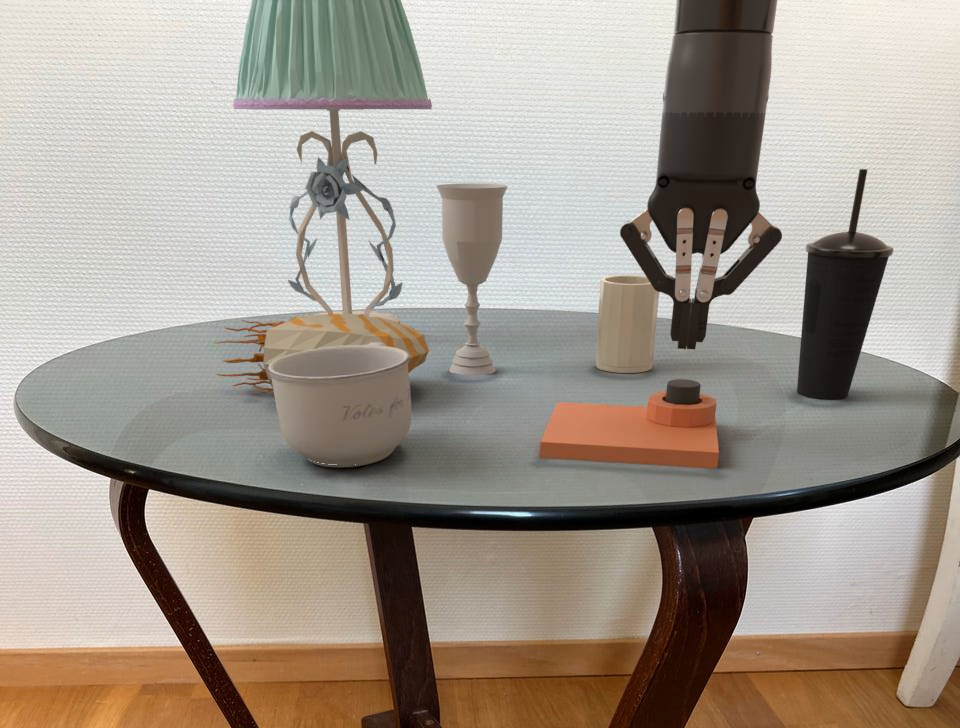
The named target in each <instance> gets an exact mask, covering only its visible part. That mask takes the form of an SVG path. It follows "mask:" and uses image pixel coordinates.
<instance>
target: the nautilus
mask: <svg viewBox="0 0 960 728" xmlns="http://www.w3.org/2000/svg"><path fill="white" fill-rule="evenodd" d="M317 314H318V315H312V314H306V315H298V316H294V317H292V318H291V319H289V320H288V321H282V320H280V321H279V322H266V323H263V322H259V321H247V320H243V319H241V321H242V322H245V323H248V324H254V325H252V326H250V327H242V328H231V327H226V326H224V327H223V329H226V330H229V331H233V332H235V331H236V332H241V331H248V332H253V333H252V334H247V335H244V336H243V337H244V338H247V337H248V338H249V337H256V338H255V339H248V340H221V341H215V342H214V343H213V344H214V345H217V344H232V343H233V344H255V345H259V346H260V348H259V349H258V352H261V350H262V348H263V353H257V352H255V353H253V357H251V358H241V357H240V358H239V357H238V358H233V359H224V360H222V361H221V362H222V363H226V364H238V363H239V364H240V363H245V362H248V363H257V365H258V366H259V368H260V371H258V372H245V373H244V372H243V373H233V374H221V373H215V374H216V376H220V377H229V378H230V377H231V378H232V377H246V376H250V377H246V379H247V380H249V381H250V380H251V381H256V382H245V381H244V382H239V383H236V384H232V385H231V387H236V386H237V387H238V386H242V385H248V386H253V387H254V388H257V389H260V390H263V391H257V392H254V393H252V394H251V396H255V395H257V394H266V393H270V392H274V390H273V384H272V377H271V375H270V373H269V370H268V367H269V365H270V363H272V362H273V361H274V360H276V359H278V358H280V357H283V356H286V355H289V354H293V353H297V352H301V351H305V350H311V349H318V348H324V347H332V346H341V345H343V346H347V345H368V344H369V343H374V342H380V343H384V344H385V345H387V346H388V347H394V348H398V349H401V350H404V351H405V352H407V353H408V355H409V362H408V372H409V374H410V373H411V372H412V371H413V370H415V368H417V367H420V366H421V365H422V364H424V363H425V362H426V360H427V356H428V353H429V352H430V349H429V345H428V344H427V341H426V337H425V334H424V333H423V332H421V331H419V330H417V329H415V328H413V327H411V326H410V325H407V324H404V323H401V322H400V323H398V322H394V321H391V320H388V319H384V318H381V317H368V316H365V315H363V314H359V315H357V314H319V313H317ZM267 326H270V328H267V329H262V330H259V329H254V328H258V327H267ZM261 363H263V367H262V365H261ZM252 377H258V378H252ZM260 384H268V385H271V387H263V386H258V385H260ZM263 388H264V389H263Z"/></svg>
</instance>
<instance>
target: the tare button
mask: <svg viewBox="0 0 960 728" xmlns="http://www.w3.org/2000/svg"><path fill="white" fill-rule="evenodd" d="M701 386H702V385H701V382H700V381H696V380H693V379H687V378H685V379H684V378H679V379H678V378H675V379H671V380H668V381H667V383H666V389H665V390H666V400H665V402H667V403H672V404H678V405H694V404H699V396H700V393H701Z"/></svg>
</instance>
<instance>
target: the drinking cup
mask: <svg viewBox="0 0 960 728" xmlns="http://www.w3.org/2000/svg"><path fill="white" fill-rule="evenodd" d="M867 174H868V169H866V168H860V169H859V170H858V175H857V181H856V187H855V191H854V196H853V197H854V198H853V203H852V209H851V214H850V220H849V225H848V230H847V231H842V232H841V231H840V232H835V233H830V234H828V235H825V236H823V237H821V238H819V239H816V240H815V241H814V242H809V243H807V244H806V245H805V252H806V253H807V261H806V274H805V284H804V285H805V286H804V297H803V298H804V299H803V309H802V321H801V334H800V335H801V336H800V346H799V347H800V349H799V359H798V360H799V361H798V370H797V371H798V372H797V384H796V393H797V394H798V395H799V396H801V397H805V398H808V399H813V400H822V401H838V400H844V399H846V398H848V396H849V393H850V389H851V386H852V382H853V379H854V376H855V373H856V370H857V366H858V363H859V359H860V355H861V352H862V348H863V346H864V342H865V339H866V335H867V332H868V329H869V325H870V323H871V319H872V315H873V312H874V309H875V305H876V303H877V298H878V295H879V292H880V288H881V284H882V282H883V277H884V274H885V271H886V268H887V265H888V261H889V257H891V256H892V255H893V254H894V247H892V246H890V245H887V244H886V243H885V242H884V241H883V240H881V239H880V238H878V237H875V236H873V235H871V234H867V233H864V232H858V231H857V230H858V224H859V218H860V213H861V208H862V201H863V196H864V191H865V186H866V180H867Z"/></svg>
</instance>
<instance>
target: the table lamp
mask: <svg viewBox="0 0 960 728" xmlns="http://www.w3.org/2000/svg"><path fill="white" fill-rule="evenodd" d="M244 29H245V31H244V36H243V43H242V49H241V53H240V58H239V64H238V72H237V83H236V95H235V98H233V104H232V107H233V110H326V111H328V112H329V122H330V124H329V125H330V139H328V138H326V137H325V136H323V135H320V134H319V133H317V132H315V131H313V130H311V131H309V132H306V133H304V134H301V135H300V136H299V140H298V144H297V147H296V152H297V154H298V158H299V160H300V163H301V164H302V163H303V145H304V144H305V143H307V142H308V141H309V140H310V139H311V138H312V139H314V140H316V141H318V142H321V143H322V144H323V146H324V148H325V150H326V152H327V162H326V164H325V162H324V161H323V160H322V158H320V157H319V156H318V157H317V159H316V167H315V168H316V171H310V174H309V176H308V179H307V181H306V185H305V186H304V189H305V190H306V191H305V192H304V193H302V194H301V195H294V196H292V197H291V201H290V204H289V216H288V217H289V219H288V220H289V222H290V225H291V228H292V229H293V231H294V232H295V233H296V234H297V238H296V240H297V241H296V249H295V256H296V259H297V263H298V266H299V270H298V272H297V275H296V277H295V281H293V280H290V279H287V281H288V283H289V285H290V287H291V288H292V289H293V290H294V291H295V292H297V293H300V294H301V295H304V296H306V297H307V298H309V299H310V300H311V301H314V302H317V303H318V304H319V305H320V307H322V308H323V310H325V312H319V313H313V314H311V315H318V314H357V315H359V314H363V315H365V316H368V317H381V318H384V319H388V320H391V321H394V322H398V323H401V321H400V319H399V318H398V317H397V316H396V315H394V314H393V313H385V312H378V311H377V312H376V311H373V310H374V309H375V308H376V307H381V306H384V305H385V304H386V303H387V302H389V301H392V300H395V299H397V298H398V297H399V296H400V294H401V292H402V289H403V288H402V287H403V282H399V283H398V284H397V285H396V283H395V278H394V275H393V274H394V256H393V255H394V253H393V246H392V245H391V242H390V240H391V239H392V238H393V234H394V232H395V230H396V226H397V223H396V219H395V215H394V209H393V207H392V204H391V202H390V200H389V199H388V198H387V197H382V196H378V195H376V194H375V193H374V192H373V191H372V190H370V189H369V188H368V187H367V186H366V185H365V184H364V183H362V182H361V181H360V180H359V179H358V178H356V177H355V176H354V174H352V171H351V166H350V160H349V156H348V149H349V147H350V146H351V144H354V143H358V142H361V141H366V143H367V144H368V145H369V147H370V148H371V150H372V152H373V164H374V165H377V161H378V155H379V154H378V150H377V147H376V142H375V139H374V137H373V136H371V135H369V134H367V133H365V132H364V131H357V132H354V133H350V134H348V135H347V136H346V138H345V139H344V140H343V141H341V129H340V128H341V127H340V112H339V111H341V110H347V111H348V110H352V111H353V110H355V111H356V110H432V107H433V103H432V100H431V98H429V96H428V92H427V89H426V88H427V87H426V83H425V78H424V74H423V70H422V64H421V61H420V57H419V54H418V50H417V46H416V43H415V40H414V36H413V33H412V30H411V25H410V23H409V20H408V17H407V13H406V10H405V8H404V5H403V2H402V0H251V3H250V8H249V12H248V15H247V20H246V23H245V28H244ZM341 142H342V143H341ZM344 175H345V176H346V179H347V180H348V182H347V183H346V180H344ZM362 191H364V192H365V193H366V194H368V195H369V196H371V197H372V198H374V199H375V200H377V202H380V203H381V205H382V208H383V210H384V211H386V212H387V214H388V216H389V218H390V219H391V221H392V222H391V226H390V230H389V233H388V235H387V233H386V230H385V228H384V226H383V224H382V222H381V220H380V219H379V218H378V216H377V214H376V213H375V211H374V210H373V208H372V206H371V205H370V204H369V202H368V200H367V199H366V198H365V196H364V194H363V193H362ZM307 195H308V196H309V199H310V200H311V205H310V206H309V209H308V210H307V212H306V214H305V216H304V218H303V220H302V221H301V223H300V226H299V227H297V225H296V223H295V221H294V217H293V214H294V211H295V209H296V208H298V207H299V204H300V200H301V199H302V198H304V197H305V196H307ZM351 195H355V196H356V197H357V199H358V200H359V202H360V204H361V205H362V206H363V207H362V208H364V210H365V211H366V213H367V215H368V216H369V217H370V219H371V221H372V222H373V224H374V225H375V227H376V229H377V230H378V232H379V234H380V235H381V239H382V241H380V242H379V243H378V244H377V245H376V246H375V245H373V243H372V242H371V241H370V240H367V242H368V243H369V245H370V248H371V249H372V251H373V252H374V254H375V256H376V257H377V259H378V261H379V262H380V263H381V264H382V266H383V269H384V271H385V277H384V282H383V283H384V284H383V287H382V290H381V291H380V292H379V293H378V294H377V296H376V297H374V298H373V300H372V301H371V302H370V303H369V304H368V305H367V306H366V307H365V309H364V310H353V306H352V305H353V304H352V291H351V289H352V288H351V276H350V275H351V274H350V259H349V246H348V231H347V220H350V216H349V210H348V208H347V205H346V202H345V201H346V199H347V196H351ZM317 210H318V215H319V219H320V220H322V218H323V217H324V216H325V215H326V214H332V213H333V214H334V213H335V214H336V230H337V246H338V248H337V249H338V261H339V276H340V277H339V278H340V291H341V306H342V307H341V308H342V311H341V310H339V311H333V310H332V308H331V307H330V306H329V304H327V302H326V301H325V300H324V299H323V297H322V296H321V295H320V294H319V293H318V292H317V290H316V289H315V287H313V286H312V284H311V283H310V279H309V276H308V272H307V268H306V265H305V264H306V262H307V259H309V258H310V255H311V254H312V252H313V250H314V248H315V246H316V243H317V240H318V238H315V239H314V241H312V243H311V241H310V240H309V239H307V238H306V232H307V227H308V225H309V224H310V222H311V220H312V218H313V216H314V214H315V212H316V211H317ZM297 228H298V229H297ZM304 243H306V247H305V252H304V257H303V248H304V245H305V244H304ZM382 246H384V251H385V255H386V259H387V262H386V261H385V257H384V255H383V252H382V249H381V248H382ZM300 277H301V278H302V282H303V283H304V287H305V289H304V287H303V286H302V284H301V281H300V280H299V279H300ZM390 287H391V288H390ZM305 290H307V291H305ZM387 294H388V295H387ZM386 295H387V296H386ZM385 296H386V297H385ZM384 297H385V298H384ZM383 298H384V299H383Z"/></svg>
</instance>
